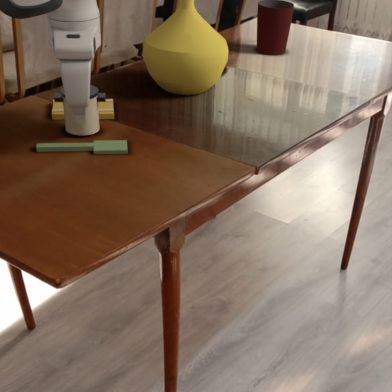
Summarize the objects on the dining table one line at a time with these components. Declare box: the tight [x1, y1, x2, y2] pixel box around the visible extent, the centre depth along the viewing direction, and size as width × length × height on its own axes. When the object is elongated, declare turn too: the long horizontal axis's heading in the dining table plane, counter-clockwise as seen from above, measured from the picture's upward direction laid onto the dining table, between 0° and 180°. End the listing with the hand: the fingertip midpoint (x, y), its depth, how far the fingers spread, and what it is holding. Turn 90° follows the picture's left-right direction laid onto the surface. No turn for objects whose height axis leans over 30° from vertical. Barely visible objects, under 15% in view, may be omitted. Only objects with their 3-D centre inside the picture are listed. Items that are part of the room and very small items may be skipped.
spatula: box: [35, 139, 129, 155], centre depth 112 cm, size 16×4×1 cm, turn 97°
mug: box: [256, 0, 295, 56], centre depth 159 cm, size 12×9×11 cm
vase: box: [142, 0, 229, 96], centre depth 133 cm, size 18×18×19 cm
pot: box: [53, 84, 107, 136], centre depth 115 cm, size 9×7×8 cm
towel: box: [51, 98, 115, 120], centre depth 125 cm, size 12×8×1 cm, turn 97°
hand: (81, 114), depth 116 cm, fingers closed on pot, 6 cm apart
